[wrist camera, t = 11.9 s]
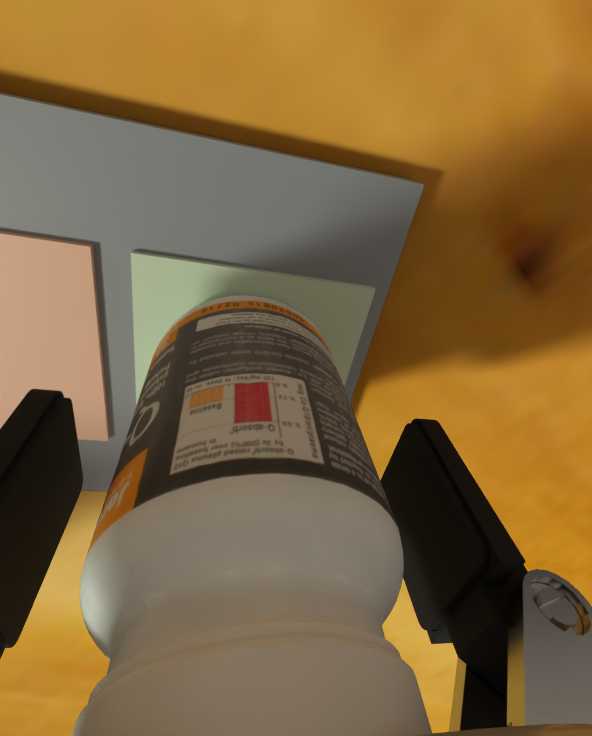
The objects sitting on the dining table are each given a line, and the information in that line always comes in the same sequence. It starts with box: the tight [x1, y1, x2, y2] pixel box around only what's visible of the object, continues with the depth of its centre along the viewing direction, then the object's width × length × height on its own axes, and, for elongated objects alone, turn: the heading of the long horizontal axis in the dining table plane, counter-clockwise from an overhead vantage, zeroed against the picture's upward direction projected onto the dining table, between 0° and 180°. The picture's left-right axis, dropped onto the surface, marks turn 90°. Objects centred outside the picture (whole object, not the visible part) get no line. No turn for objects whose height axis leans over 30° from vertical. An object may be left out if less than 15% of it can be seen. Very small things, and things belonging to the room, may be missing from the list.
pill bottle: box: [72, 295, 432, 736], centre depth 9 cm, size 6×6×10 cm
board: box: [0, 92, 424, 491], centre depth 12 cm, size 13×16×1 cm
